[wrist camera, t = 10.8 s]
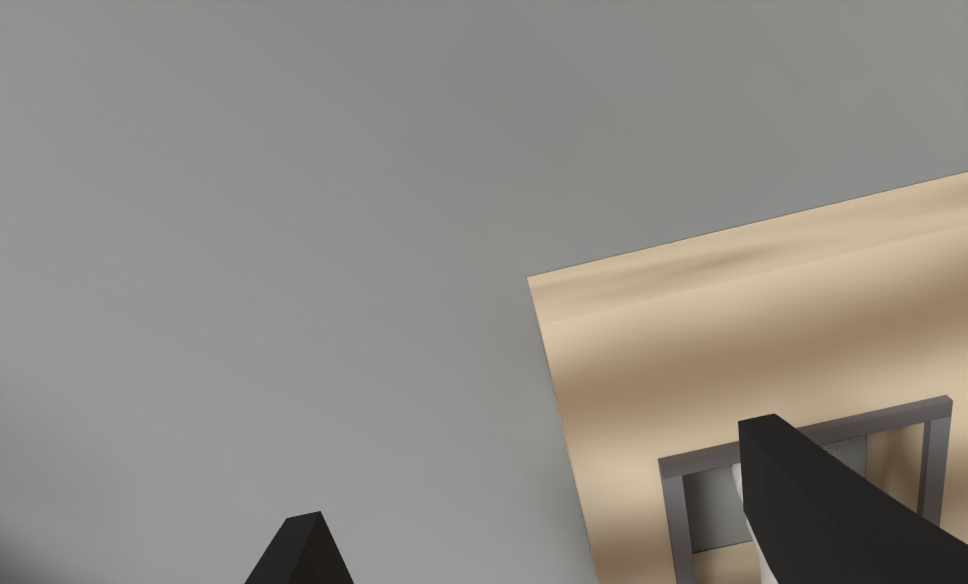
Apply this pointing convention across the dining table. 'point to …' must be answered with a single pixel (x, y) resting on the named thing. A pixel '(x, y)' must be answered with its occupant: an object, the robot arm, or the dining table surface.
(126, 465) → the dining table surface
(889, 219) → the socket plate
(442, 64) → the dining table surface
